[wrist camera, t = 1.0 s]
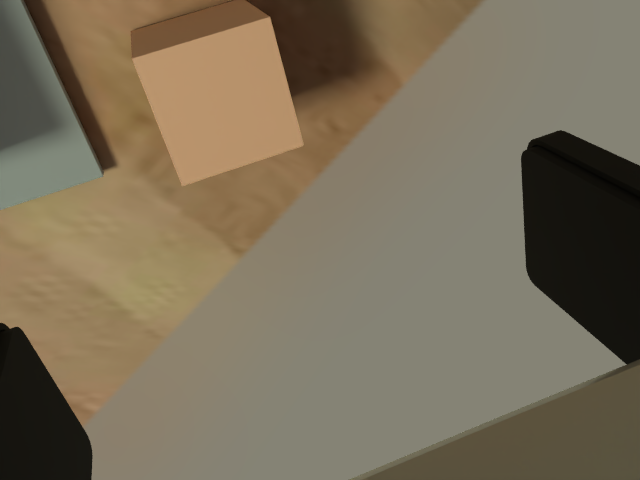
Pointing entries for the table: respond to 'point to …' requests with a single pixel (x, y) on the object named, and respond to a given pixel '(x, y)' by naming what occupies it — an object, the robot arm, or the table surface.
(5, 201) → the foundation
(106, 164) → the table surface
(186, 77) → the terracotta block
